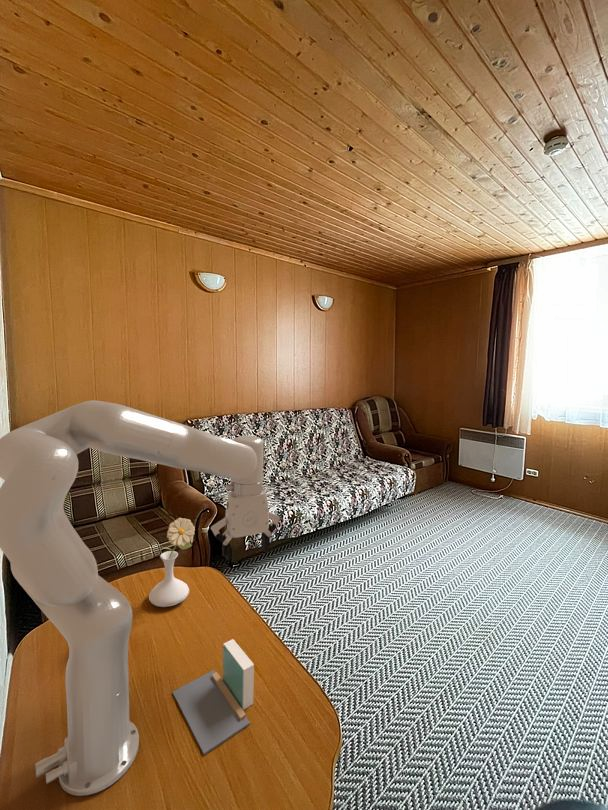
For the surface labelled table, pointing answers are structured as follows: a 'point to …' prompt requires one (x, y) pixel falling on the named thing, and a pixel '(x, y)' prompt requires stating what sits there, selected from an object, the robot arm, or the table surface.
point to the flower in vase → (170, 587)
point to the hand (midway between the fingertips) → (246, 553)
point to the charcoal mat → (210, 710)
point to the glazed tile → (238, 673)
